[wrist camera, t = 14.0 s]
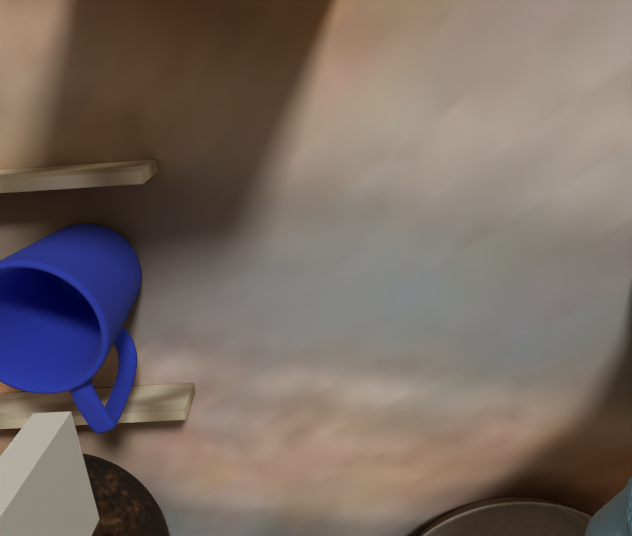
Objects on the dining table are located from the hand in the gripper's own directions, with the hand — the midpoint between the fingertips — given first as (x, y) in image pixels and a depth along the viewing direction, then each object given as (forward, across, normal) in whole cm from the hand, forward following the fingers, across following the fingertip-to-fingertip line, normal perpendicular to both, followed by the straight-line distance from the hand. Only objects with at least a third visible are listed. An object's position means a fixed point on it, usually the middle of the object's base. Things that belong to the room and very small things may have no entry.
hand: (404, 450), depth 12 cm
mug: (+29, +17, +8) cm, 35 cm away
